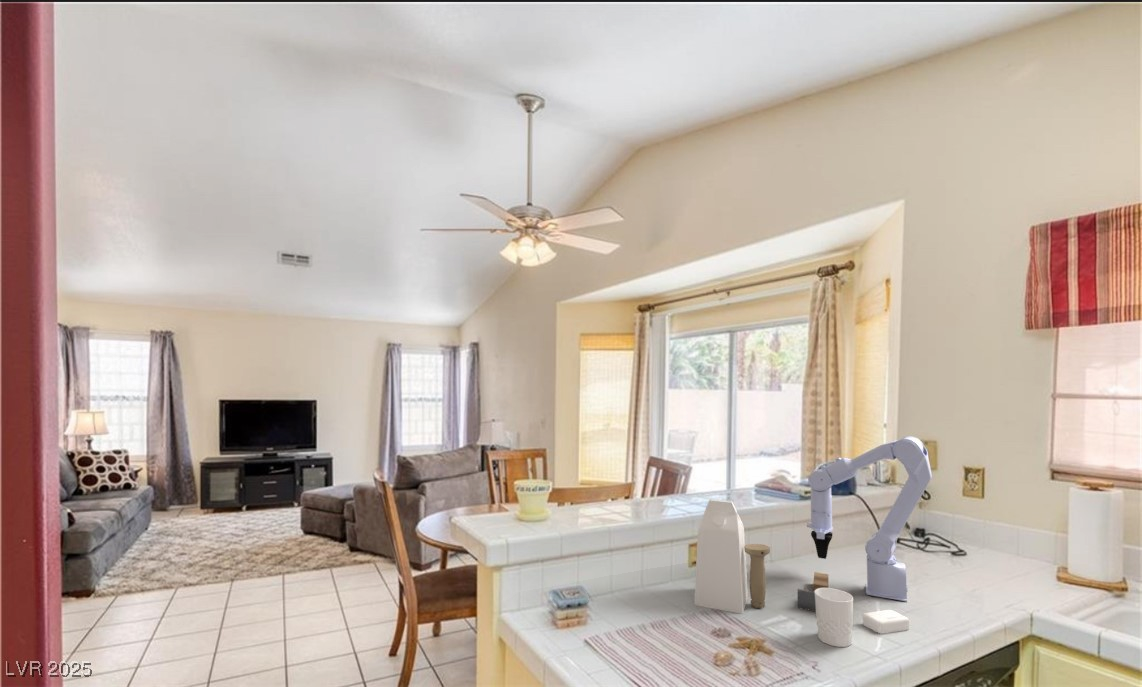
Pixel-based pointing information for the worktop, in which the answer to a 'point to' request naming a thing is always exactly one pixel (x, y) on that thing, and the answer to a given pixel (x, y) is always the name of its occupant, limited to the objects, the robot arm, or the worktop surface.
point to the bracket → (806, 599)
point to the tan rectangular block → (820, 581)
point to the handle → (757, 573)
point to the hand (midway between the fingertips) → (822, 557)
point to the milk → (721, 559)
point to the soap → (885, 621)
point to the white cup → (834, 616)
